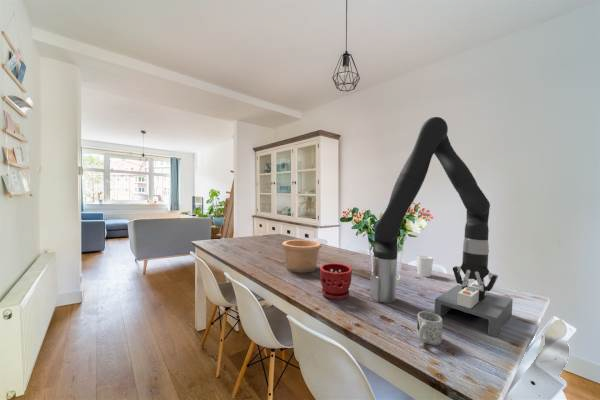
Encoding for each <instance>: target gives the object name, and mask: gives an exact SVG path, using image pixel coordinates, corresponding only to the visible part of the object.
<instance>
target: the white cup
mask: <svg viewBox="0 0 600 400" xmlns="http://www.w3.org/2000/svg"><path fill="white" fill-rule="evenodd" d="M433 262H434V257H432V256H429V255H425V254H424V255H422V254H420V255H419V254H418V255H417V256H416V270H417V271H416V272H417V275H418V276H420V277H424V278H431V276H432V272H433V265H434V263H433Z"/></svg>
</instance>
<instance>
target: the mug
mask: <svg viewBox="0 0 600 400" xmlns="http://www.w3.org/2000/svg"><path fill="white" fill-rule="evenodd" d="M416 323H417V324H416V325H417V327H416V328H417V329H416V338H417V339H418V340H419V341H418V342H419V343H425V344H426V345H432V346H438V345H441V344H442V340H443V339H442V337H443V336H442V335H443V318H442V317H440V316H439V315H437V314H434V312H430V311H419V312H418V313H417V322H416Z"/></svg>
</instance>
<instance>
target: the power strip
mask: <svg viewBox="0 0 600 400" xmlns="http://www.w3.org/2000/svg"><path fill="white" fill-rule="evenodd" d="M488 284H489V283H485V286H488ZM479 291H480V288H479V285H478V282H477V281H476V280H474V281H472V283H470V284H469V285H467V287H466V288H464V289H463V290H461V291H460V292H458V298H457V305H461V306H464V307H467V308H470V309H471V308H474V307H473V306H474V305H475V304H477V303H478V302H479ZM487 292H488V291H485V296H486V295H487ZM462 312H464V311H462ZM464 313H466V314H468V313H467V312H464Z"/></svg>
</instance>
